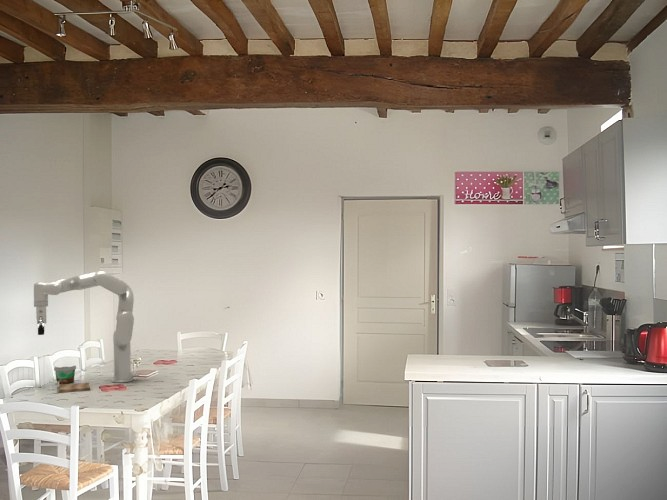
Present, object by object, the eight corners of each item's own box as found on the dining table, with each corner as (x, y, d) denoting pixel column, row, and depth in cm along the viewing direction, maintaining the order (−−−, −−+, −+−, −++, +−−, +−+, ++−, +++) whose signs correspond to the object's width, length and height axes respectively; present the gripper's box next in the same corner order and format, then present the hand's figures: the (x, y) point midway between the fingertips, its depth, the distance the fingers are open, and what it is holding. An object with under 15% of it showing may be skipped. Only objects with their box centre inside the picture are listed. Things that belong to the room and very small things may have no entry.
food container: (52, 385, 405) (52, 368, 405) (54, 383, 411) (53, 366, 411) (75, 384, 408) (75, 366, 408) (76, 382, 414) (76, 365, 414)
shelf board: (89, 385, 404) (89, 379, 404) (90, 390, 389) (90, 384, 389) (57, 387, 398) (57, 381, 398) (57, 393, 383) (57, 386, 383)
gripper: (47, 304, 394) (48, 335, 394) (48, 302, 410) (48, 331, 410) (33, 305, 391) (33, 335, 391) (34, 303, 407) (34, 332, 407)
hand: (41, 333), depth 400 cm, fingers open, 9 cm apart
